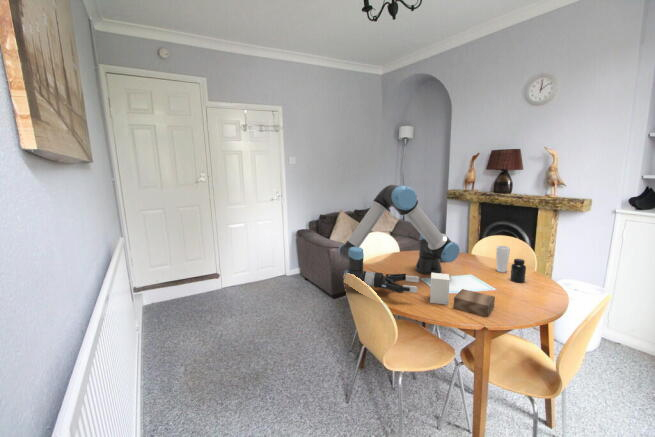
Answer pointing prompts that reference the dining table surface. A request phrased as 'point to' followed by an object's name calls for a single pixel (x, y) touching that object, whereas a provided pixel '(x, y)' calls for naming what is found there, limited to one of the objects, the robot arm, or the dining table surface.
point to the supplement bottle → (518, 271)
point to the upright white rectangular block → (439, 288)
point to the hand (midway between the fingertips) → (418, 284)
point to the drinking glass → (502, 258)
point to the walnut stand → (474, 302)
